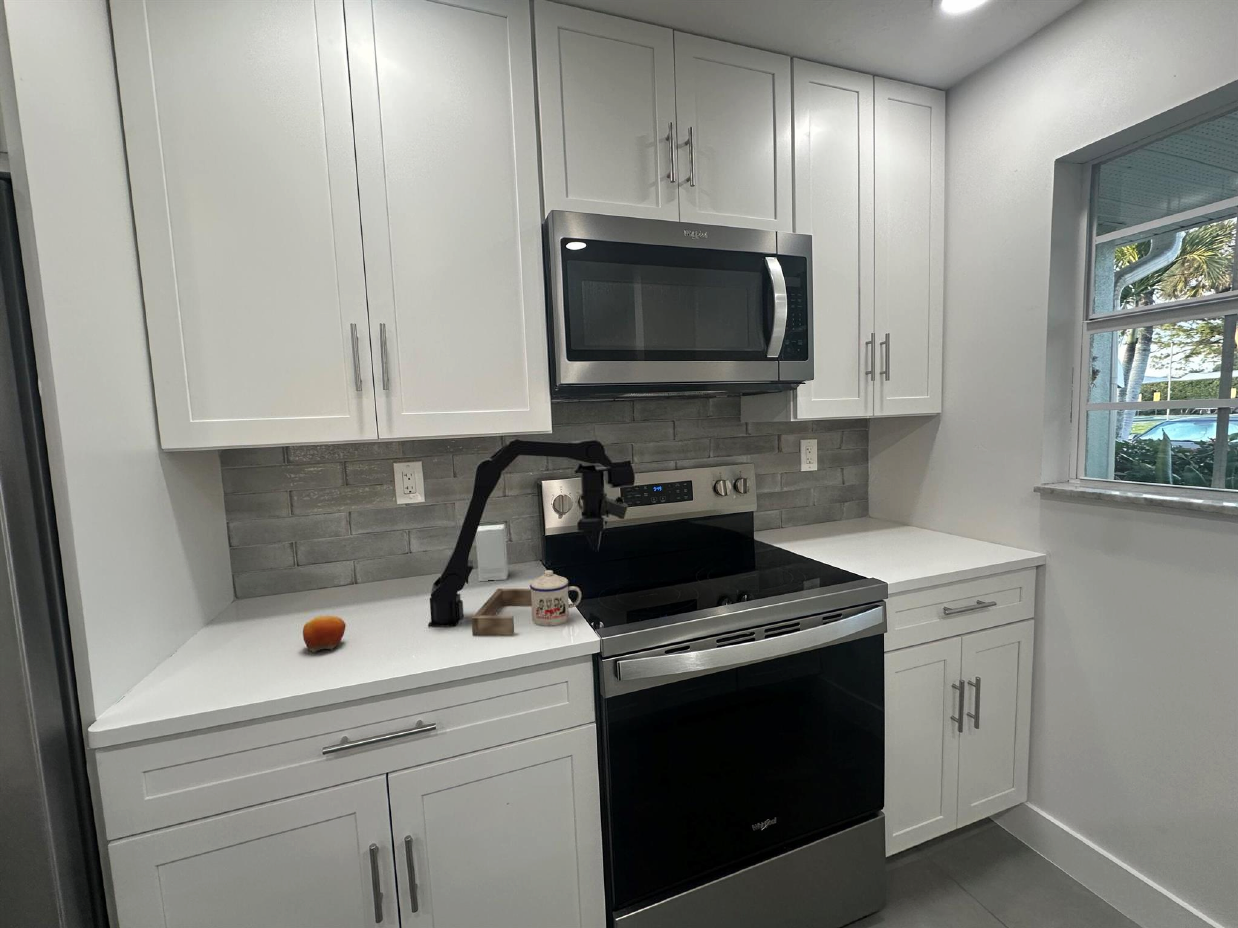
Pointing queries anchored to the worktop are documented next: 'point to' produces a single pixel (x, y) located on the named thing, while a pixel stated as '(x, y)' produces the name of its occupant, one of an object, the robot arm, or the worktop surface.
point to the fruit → (323, 632)
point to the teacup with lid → (551, 599)
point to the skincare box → (491, 552)
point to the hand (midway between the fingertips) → (596, 550)
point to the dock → (485, 616)
